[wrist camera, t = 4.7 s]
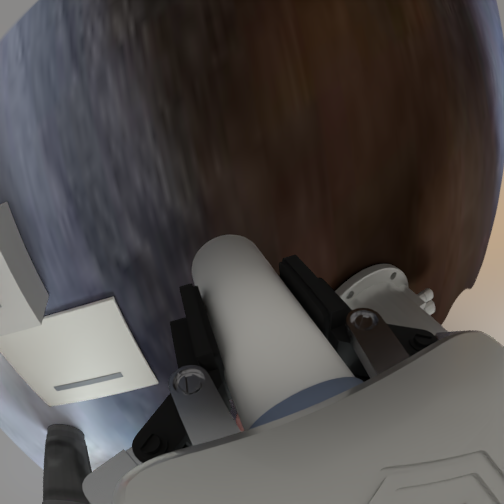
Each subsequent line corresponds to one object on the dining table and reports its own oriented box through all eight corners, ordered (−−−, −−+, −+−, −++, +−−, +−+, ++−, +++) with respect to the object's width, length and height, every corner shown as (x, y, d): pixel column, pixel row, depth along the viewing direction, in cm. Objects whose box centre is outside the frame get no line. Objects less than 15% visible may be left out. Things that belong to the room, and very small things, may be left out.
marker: (259, 224, 14) (431, 421, 5) (266, 287, 16) (388, 471, 7) (181, 243, 14) (271, 504, 4) (198, 307, 15) (278, 522, 6)
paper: (113, 296, 18) (113, 299, 18) (158, 380, 24) (158, 383, 23) (-12, 332, 15) (-13, 335, 15) (49, 404, 21) (49, 407, 20)
